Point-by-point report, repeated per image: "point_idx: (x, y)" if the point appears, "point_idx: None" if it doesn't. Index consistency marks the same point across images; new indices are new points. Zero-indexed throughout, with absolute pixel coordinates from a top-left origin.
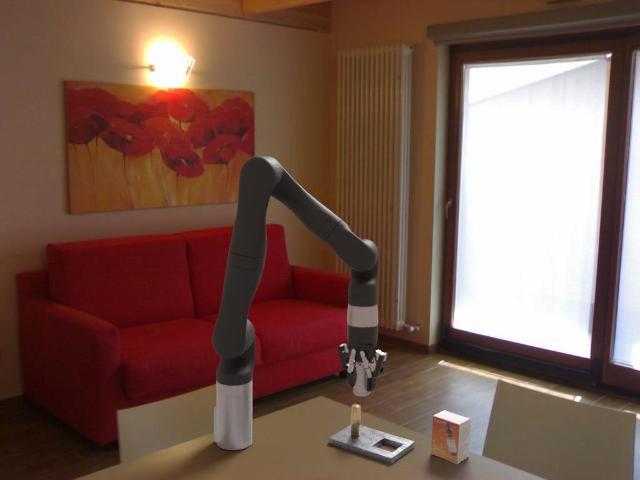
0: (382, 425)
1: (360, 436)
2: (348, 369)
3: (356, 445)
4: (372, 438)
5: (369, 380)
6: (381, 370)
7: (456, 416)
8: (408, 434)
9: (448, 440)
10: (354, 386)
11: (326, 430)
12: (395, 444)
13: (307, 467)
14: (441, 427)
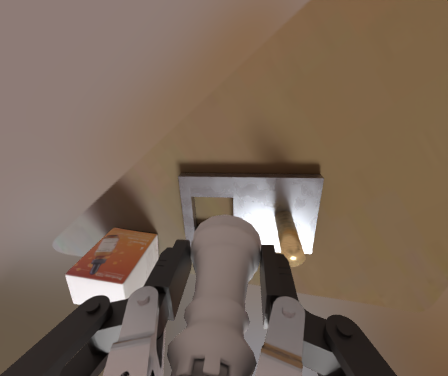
0: None
1: (271, 216)
2: (299, 316)
3: (257, 182)
4: (248, 221)
5: (159, 276)
6: (86, 352)
7: None
8: None
9: (109, 250)
10: (247, 243)
11: (351, 216)
12: None
13: (304, 52)
14: (112, 266)
